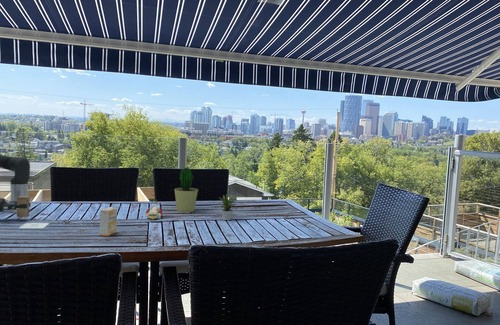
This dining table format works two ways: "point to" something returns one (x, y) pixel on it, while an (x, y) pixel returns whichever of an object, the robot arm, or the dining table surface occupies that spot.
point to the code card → (34, 225)
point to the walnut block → (22, 211)
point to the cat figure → (153, 212)
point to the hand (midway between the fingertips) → (28, 205)
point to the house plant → (227, 207)
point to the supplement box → (108, 221)
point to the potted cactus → (185, 193)
